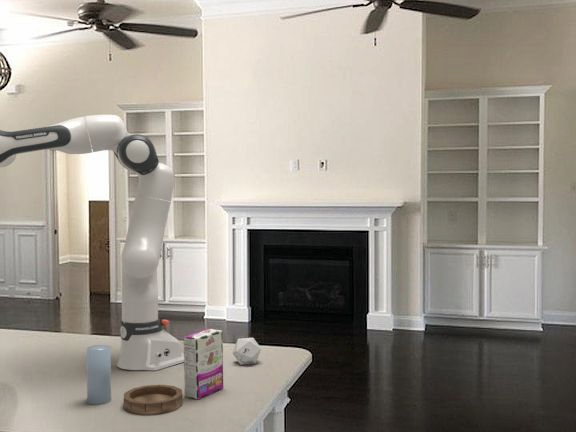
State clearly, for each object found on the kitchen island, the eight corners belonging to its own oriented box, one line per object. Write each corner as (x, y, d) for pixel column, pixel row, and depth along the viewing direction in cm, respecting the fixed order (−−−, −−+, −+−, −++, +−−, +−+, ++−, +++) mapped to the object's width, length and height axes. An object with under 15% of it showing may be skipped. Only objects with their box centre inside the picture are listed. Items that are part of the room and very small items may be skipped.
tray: (163, 391, 173) (163, 381, 172) (193, 405, 162) (193, 394, 161) (113, 403, 163) (113, 393, 162) (142, 419, 152) (142, 407, 152)
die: (227, 365, 201) (232, 345, 195) (237, 346, 207) (242, 327, 202) (250, 375, 200) (256, 356, 194) (260, 356, 206) (266, 337, 200)
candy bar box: (209, 385, 178) (209, 328, 177) (223, 388, 175) (223, 330, 174) (183, 396, 168) (182, 335, 167) (197, 400, 165) (197, 338, 165)
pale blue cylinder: (104, 395, 169) (104, 343, 168) (115, 401, 165) (114, 347, 164) (83, 400, 165) (82, 347, 164) (93, 406, 161) (92, 351, 160)
